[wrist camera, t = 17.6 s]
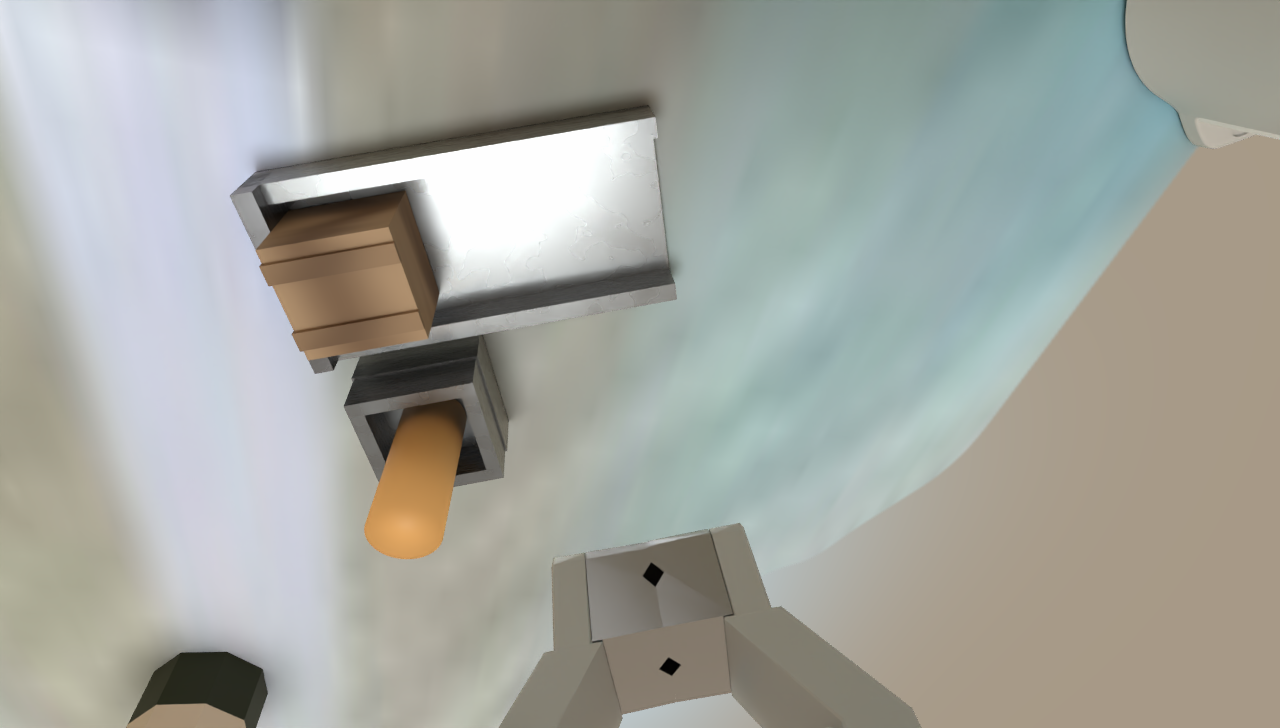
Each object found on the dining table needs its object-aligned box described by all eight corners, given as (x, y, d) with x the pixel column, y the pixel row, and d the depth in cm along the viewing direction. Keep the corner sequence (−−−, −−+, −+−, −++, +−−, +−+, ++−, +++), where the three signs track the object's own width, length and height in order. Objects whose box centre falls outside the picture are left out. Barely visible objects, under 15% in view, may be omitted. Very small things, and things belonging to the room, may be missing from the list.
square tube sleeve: (480, 329, 41) (473, 380, 36) (508, 421, 45) (505, 478, 40) (362, 350, 41) (341, 405, 36) (401, 440, 45) (385, 500, 40)
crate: (406, 190, 36) (388, 229, 31) (440, 293, 39) (428, 341, 34) (287, 211, 35) (252, 252, 31) (331, 312, 39) (306, 363, 34)
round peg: (450, 384, 39) (422, 496, 32) (476, 431, 41) (455, 547, 34) (391, 402, 39) (349, 517, 32) (420, 448, 41) (387, 566, 34)
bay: (648, 105, 35) (658, 122, 32) (669, 279, 41) (679, 307, 38) (255, 172, 35) (229, 195, 32) (330, 340, 40) (315, 373, 37)
